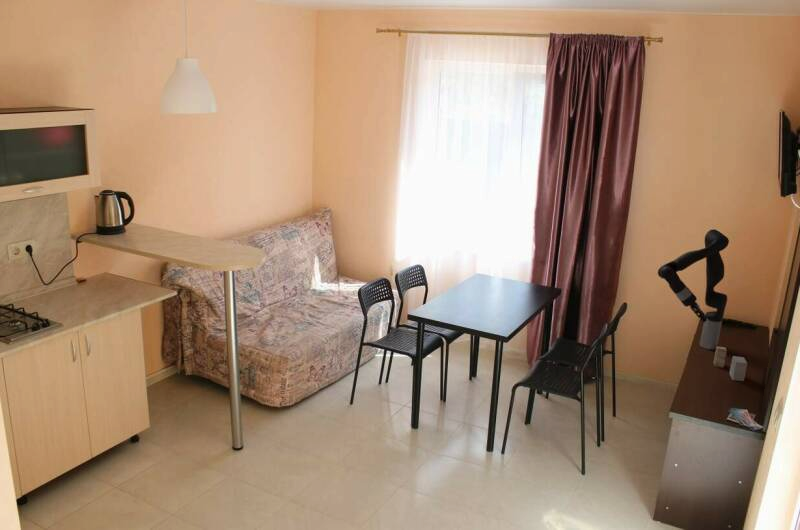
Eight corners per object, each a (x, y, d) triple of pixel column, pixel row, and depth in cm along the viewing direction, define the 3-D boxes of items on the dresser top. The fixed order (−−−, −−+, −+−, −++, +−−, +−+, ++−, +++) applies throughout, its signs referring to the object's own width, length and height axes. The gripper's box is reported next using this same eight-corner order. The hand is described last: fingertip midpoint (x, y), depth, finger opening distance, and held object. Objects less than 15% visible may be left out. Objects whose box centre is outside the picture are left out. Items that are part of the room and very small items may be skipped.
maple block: (713, 362, 394) (716, 346, 391) (722, 364, 393) (725, 347, 390) (714, 366, 390) (717, 349, 386) (723, 367, 389) (726, 350, 385)
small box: (743, 381, 373) (747, 363, 370) (732, 380, 374) (736, 362, 371) (740, 375, 381) (743, 357, 378) (729, 373, 382) (732, 355, 379)
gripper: (693, 296, 377) (712, 319, 378) (689, 287, 390) (708, 310, 391) (681, 304, 380) (700, 327, 380) (678, 295, 393) (696, 317, 394)
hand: (704, 318), depth 386 cm, fingers open, 8 cm apart
